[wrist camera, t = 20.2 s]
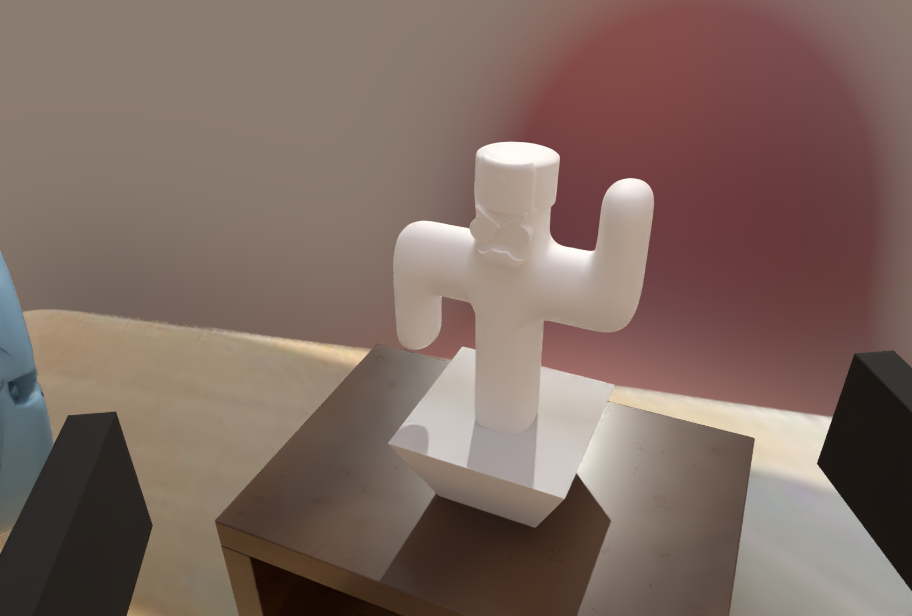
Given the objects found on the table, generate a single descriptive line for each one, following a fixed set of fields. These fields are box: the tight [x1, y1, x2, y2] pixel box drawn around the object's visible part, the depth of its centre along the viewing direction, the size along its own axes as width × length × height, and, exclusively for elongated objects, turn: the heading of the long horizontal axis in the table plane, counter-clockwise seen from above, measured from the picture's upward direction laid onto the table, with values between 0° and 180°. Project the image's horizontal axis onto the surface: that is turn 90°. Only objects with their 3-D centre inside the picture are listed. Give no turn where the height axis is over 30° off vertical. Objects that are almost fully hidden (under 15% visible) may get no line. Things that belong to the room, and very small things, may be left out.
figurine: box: [388, 142, 654, 528], centre depth 29 cm, size 7×9×15 cm
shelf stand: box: [215, 344, 755, 616], centre depth 36 cm, size 20×14×10 cm
